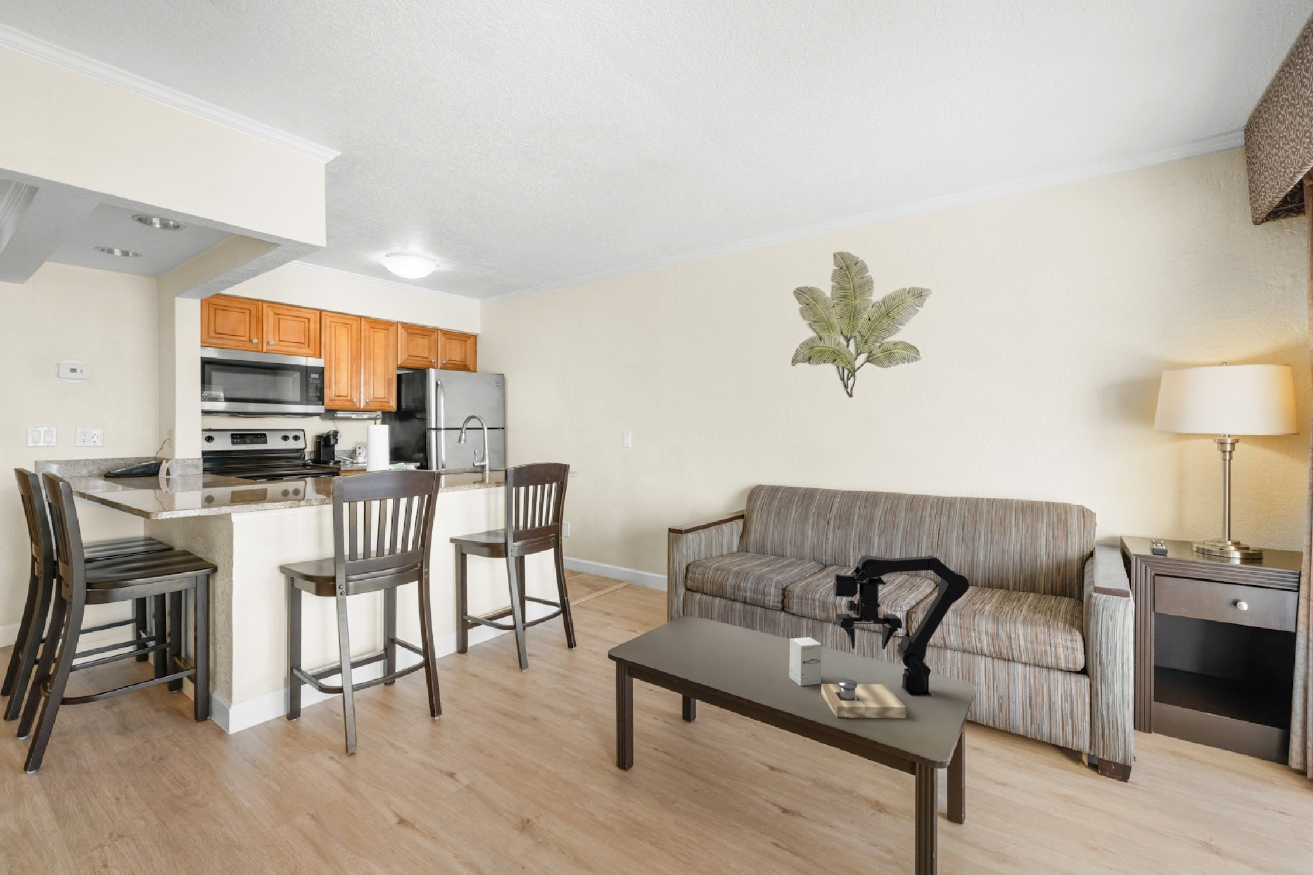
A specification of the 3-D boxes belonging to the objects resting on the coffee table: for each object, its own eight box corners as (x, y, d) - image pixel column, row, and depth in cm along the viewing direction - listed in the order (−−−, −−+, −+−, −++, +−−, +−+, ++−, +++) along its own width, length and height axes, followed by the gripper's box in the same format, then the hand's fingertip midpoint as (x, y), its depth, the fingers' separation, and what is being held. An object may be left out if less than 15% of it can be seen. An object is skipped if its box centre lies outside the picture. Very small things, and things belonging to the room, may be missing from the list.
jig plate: (884, 694, 178) (884, 684, 178) (906, 718, 163) (906, 707, 163) (821, 693, 178) (821, 683, 178) (836, 717, 163) (836, 706, 163)
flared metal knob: (853, 703, 172) (853, 678, 172) (859, 711, 167) (859, 686, 167) (835, 702, 172) (835, 678, 172) (841, 711, 167) (841, 686, 167)
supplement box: (800, 686, 183) (800, 645, 183) (788, 677, 190) (789, 637, 190) (821, 684, 185) (822, 643, 185) (809, 675, 192) (809, 636, 192)
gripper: (888, 591, 191) (888, 640, 191) (830, 590, 190) (829, 639, 190) (903, 601, 179) (902, 652, 179) (841, 600, 179) (840, 652, 179)
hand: (868, 648), depth 182 cm, fingers open, 9 cm apart
